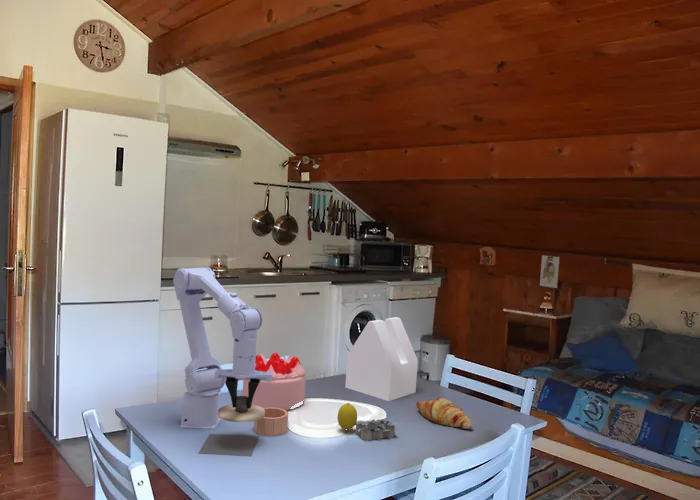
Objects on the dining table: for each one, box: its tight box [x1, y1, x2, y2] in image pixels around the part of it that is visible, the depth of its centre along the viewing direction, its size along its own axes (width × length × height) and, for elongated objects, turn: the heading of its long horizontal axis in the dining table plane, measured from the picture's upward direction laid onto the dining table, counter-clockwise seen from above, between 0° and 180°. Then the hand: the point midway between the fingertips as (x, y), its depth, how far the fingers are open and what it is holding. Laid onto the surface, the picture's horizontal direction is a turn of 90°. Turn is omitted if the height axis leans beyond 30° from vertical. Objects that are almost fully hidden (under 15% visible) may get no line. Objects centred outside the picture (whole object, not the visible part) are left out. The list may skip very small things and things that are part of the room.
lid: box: [217, 395, 265, 423], centre depth 155 cm, size 12×12×4 cm
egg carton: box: [355, 417, 398, 441], centre depth 167 cm, size 11×8×4 cm
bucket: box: [253, 407, 289, 437], centre depth 165 cm, size 9×9×5 cm
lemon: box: [337, 402, 358, 431], centre depth 168 cm, size 6×6×8 cm
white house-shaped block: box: [344, 316, 419, 402], centre depth 209 cm, size 19×15×25 cm
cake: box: [242, 352, 307, 412], centre depth 190 cm, size 20×20×14 cm
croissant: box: [415, 396, 473, 430], centre depth 182 cm, size 21×10×8 cm, turn 44°
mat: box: [197, 433, 259, 457], centre depth 153 cm, size 13×13×1 cm
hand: (241, 406), depth 156 cm, fingers closed on lid, 3 cm apart
